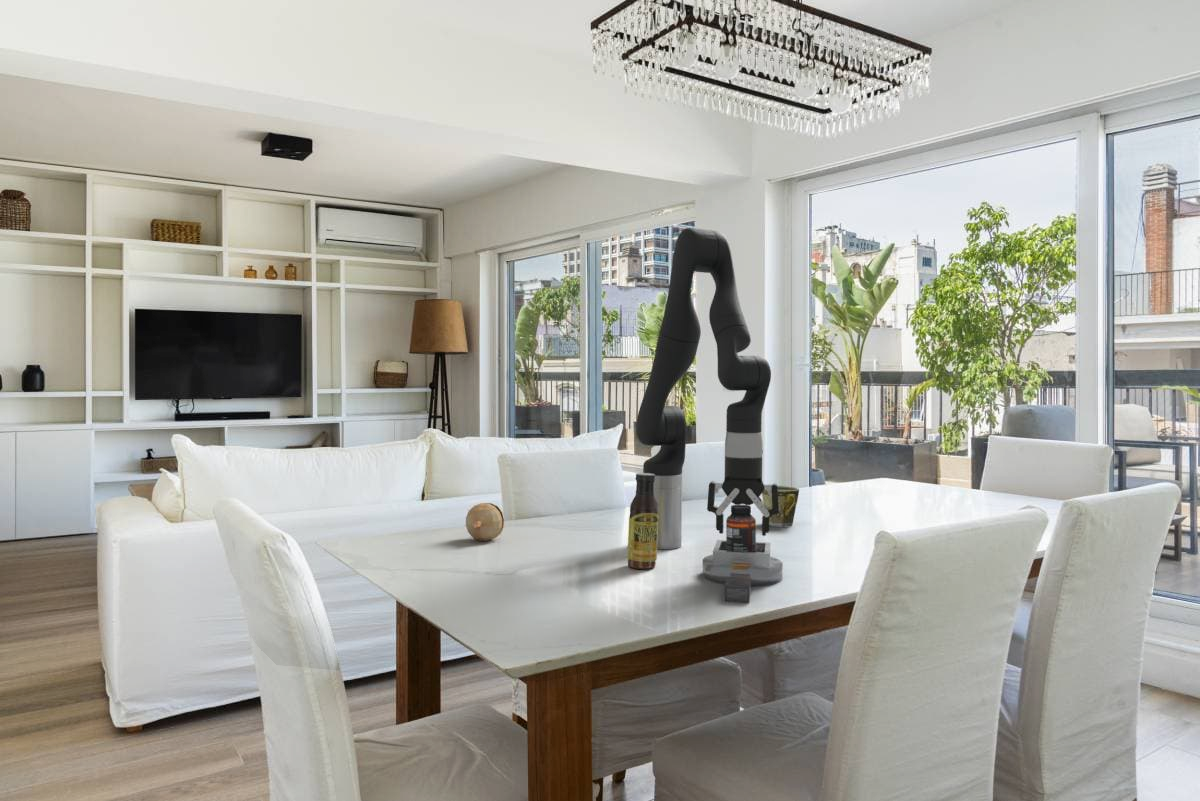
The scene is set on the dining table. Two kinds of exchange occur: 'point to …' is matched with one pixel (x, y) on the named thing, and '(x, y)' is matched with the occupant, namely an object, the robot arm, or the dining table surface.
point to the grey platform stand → (742, 570)
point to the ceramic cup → (782, 505)
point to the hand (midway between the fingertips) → (742, 533)
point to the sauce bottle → (643, 524)
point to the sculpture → (485, 521)
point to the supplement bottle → (741, 529)
